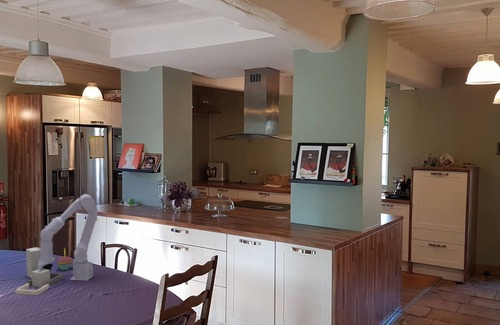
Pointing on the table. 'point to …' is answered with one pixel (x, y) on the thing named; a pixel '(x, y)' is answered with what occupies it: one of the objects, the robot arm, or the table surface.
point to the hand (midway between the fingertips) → (46, 278)
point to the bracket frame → (23, 291)
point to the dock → (55, 279)
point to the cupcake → (64, 262)
